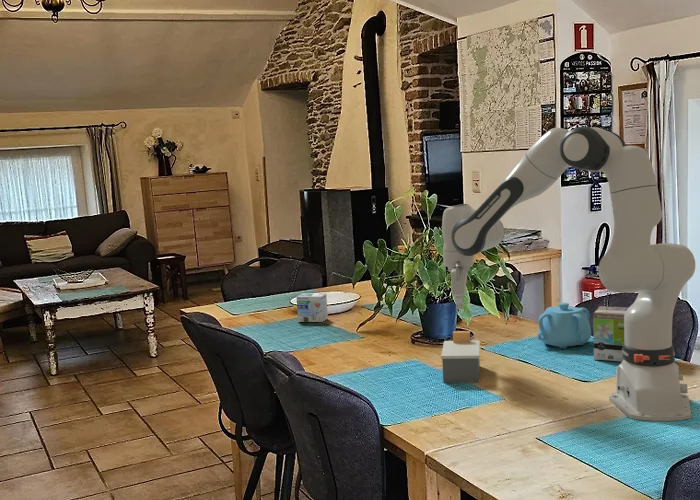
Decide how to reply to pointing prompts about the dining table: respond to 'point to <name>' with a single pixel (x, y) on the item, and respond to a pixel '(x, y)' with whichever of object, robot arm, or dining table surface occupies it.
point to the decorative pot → (564, 326)
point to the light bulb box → (312, 307)
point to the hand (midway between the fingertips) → (460, 305)
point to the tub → (461, 370)
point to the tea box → (608, 333)
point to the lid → (461, 347)
